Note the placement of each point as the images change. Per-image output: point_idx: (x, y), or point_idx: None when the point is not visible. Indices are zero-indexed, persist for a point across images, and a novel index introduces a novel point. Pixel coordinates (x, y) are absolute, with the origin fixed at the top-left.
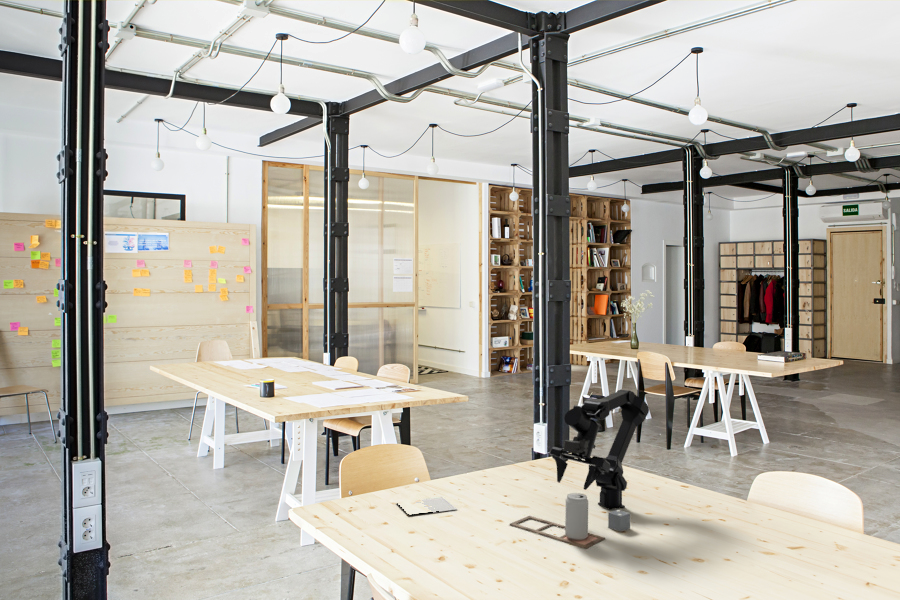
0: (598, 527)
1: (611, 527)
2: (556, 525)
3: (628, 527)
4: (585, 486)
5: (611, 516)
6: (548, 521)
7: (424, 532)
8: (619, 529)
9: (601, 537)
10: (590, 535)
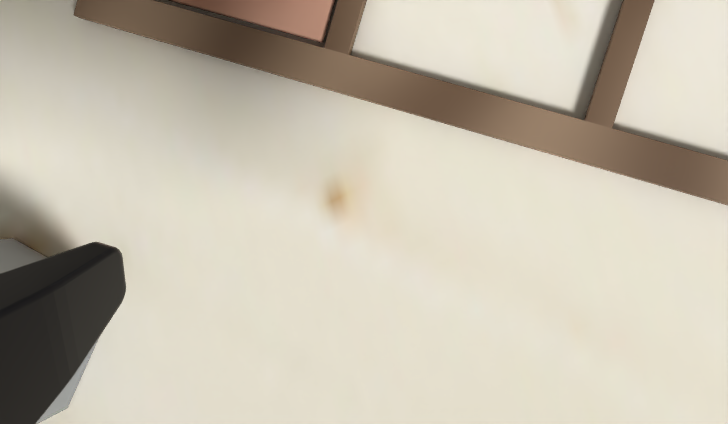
0: (189, 263)
1: None
2: (539, 108)
3: None
4: (56, 258)
5: None
6: (649, 173)
7: None
8: (10, 244)
9: (97, 1)
10: (191, 12)
